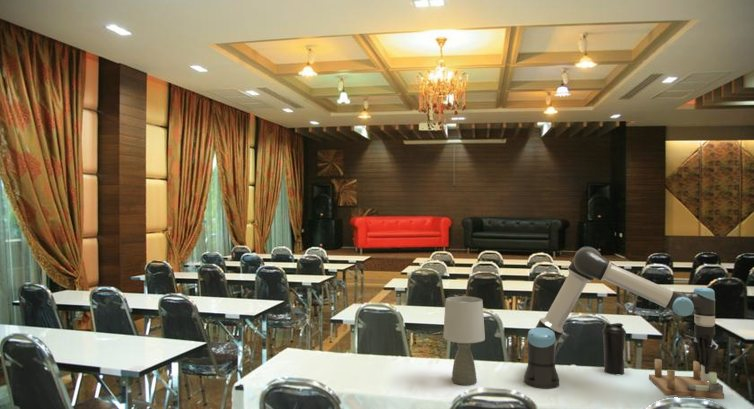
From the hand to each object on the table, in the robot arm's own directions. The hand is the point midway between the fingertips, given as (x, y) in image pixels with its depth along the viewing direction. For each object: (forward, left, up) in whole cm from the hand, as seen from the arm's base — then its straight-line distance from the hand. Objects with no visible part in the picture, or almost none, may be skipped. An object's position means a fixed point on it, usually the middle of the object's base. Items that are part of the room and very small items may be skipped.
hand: (704, 380), depth 225 cm
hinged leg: (-3, -4, -3) cm, 5 cm away
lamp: (-101, -4, -5) cm, 101 cm away
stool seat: (-7, +4, -5) cm, 9 cm away
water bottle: (-31, +23, -5) cm, 39 cm away
